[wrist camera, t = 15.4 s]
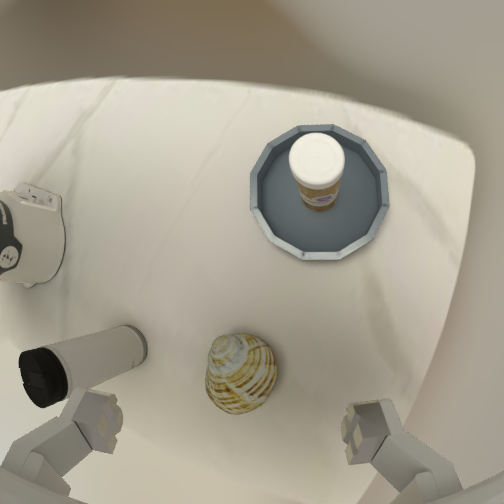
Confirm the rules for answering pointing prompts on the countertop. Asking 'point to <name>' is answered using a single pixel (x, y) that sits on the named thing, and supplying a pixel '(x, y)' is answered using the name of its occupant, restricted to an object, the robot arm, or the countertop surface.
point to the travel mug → (79, 363)
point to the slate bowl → (328, 222)
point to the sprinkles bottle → (317, 170)
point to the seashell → (240, 373)
